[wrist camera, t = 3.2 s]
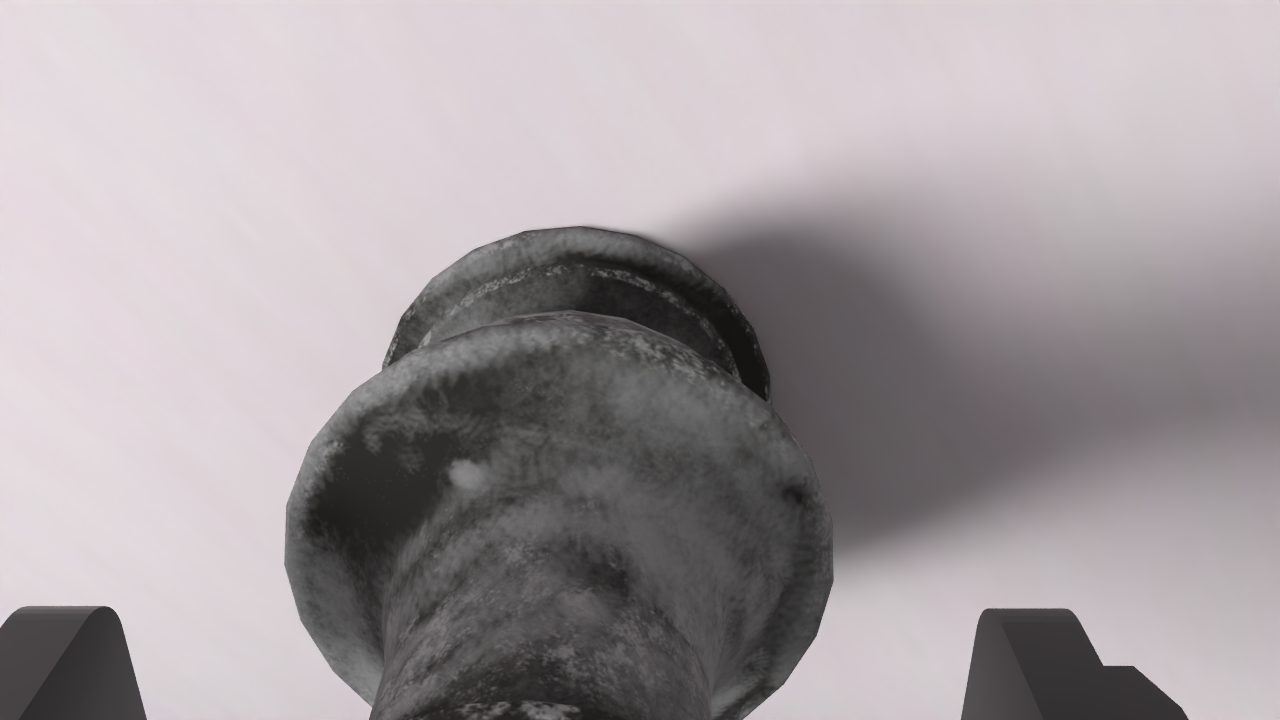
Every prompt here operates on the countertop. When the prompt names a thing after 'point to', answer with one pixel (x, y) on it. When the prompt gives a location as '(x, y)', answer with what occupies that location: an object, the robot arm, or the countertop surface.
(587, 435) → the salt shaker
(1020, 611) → the robot arm
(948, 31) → the countertop surface
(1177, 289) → the countertop surface
